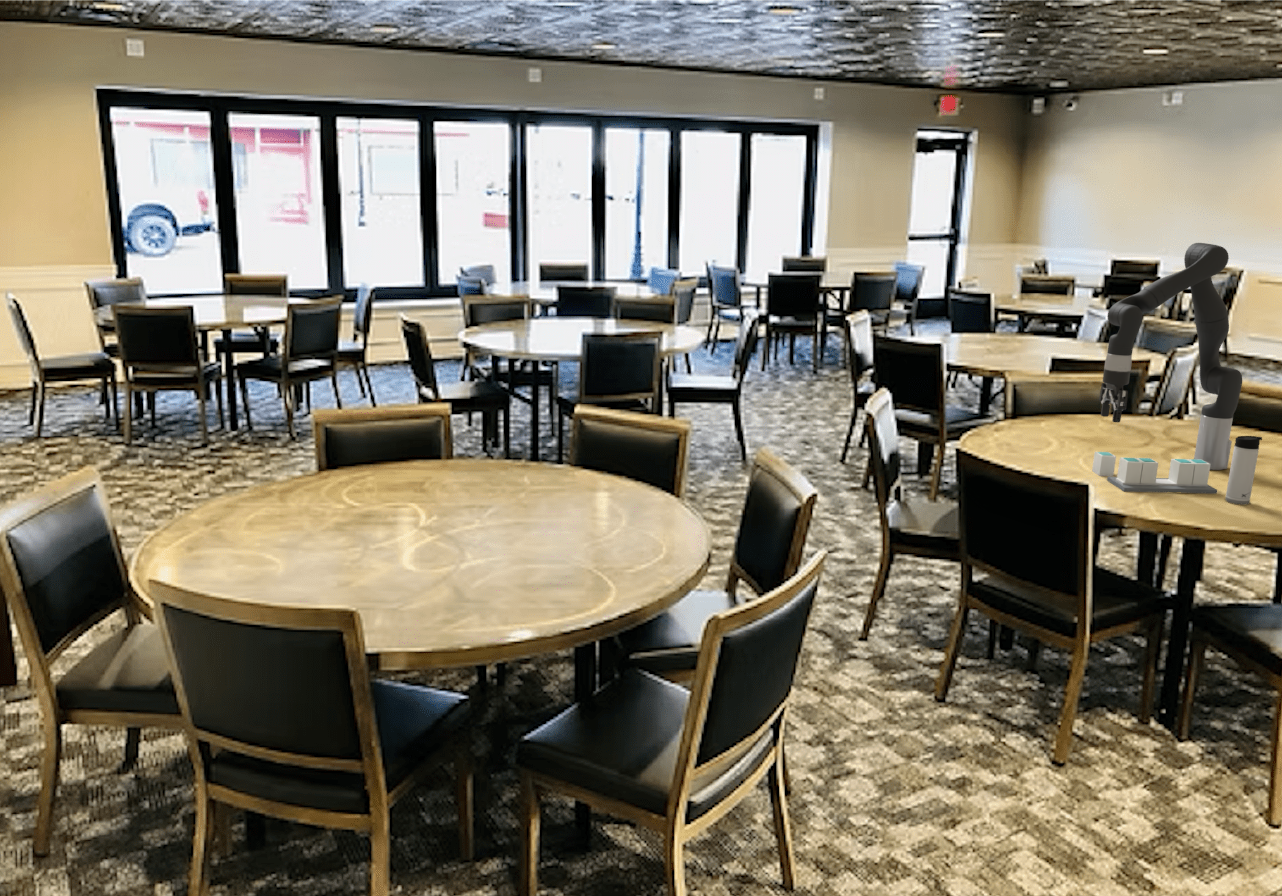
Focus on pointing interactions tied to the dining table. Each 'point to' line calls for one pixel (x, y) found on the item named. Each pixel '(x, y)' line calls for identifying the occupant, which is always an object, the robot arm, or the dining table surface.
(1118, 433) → the dining table surface
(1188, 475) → the rail panel
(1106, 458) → the block
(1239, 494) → the travel mug
